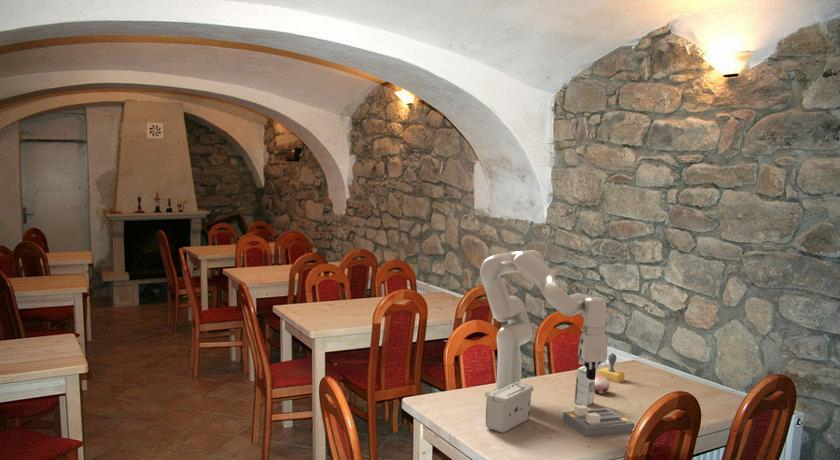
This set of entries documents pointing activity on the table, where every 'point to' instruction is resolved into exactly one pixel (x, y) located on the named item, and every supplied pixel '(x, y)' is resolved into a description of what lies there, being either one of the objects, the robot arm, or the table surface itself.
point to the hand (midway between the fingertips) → (590, 378)
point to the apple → (601, 384)
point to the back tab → (580, 410)
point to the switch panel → (608, 423)
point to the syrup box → (584, 388)
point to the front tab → (592, 418)
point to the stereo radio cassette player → (508, 406)
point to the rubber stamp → (612, 371)
